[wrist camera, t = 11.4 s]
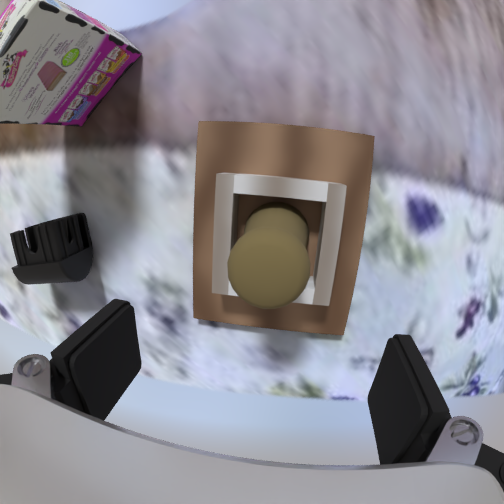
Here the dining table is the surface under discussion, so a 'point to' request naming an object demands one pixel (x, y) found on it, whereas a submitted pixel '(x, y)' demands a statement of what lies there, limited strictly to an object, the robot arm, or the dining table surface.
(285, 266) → the cork
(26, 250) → the end cap
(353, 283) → the socket board
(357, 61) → the dining table surface
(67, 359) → the robot arm
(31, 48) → the candy bar box
